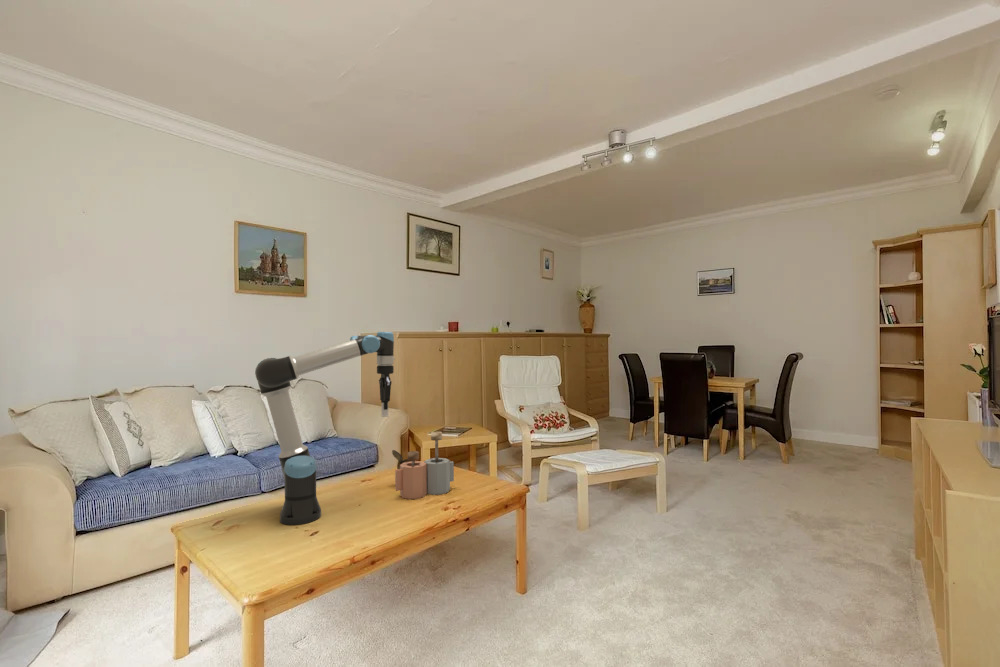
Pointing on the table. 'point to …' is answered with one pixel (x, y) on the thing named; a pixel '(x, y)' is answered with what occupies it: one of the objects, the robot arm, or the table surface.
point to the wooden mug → (399, 458)
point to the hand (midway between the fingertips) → (384, 416)
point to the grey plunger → (436, 442)
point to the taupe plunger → (413, 456)
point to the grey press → (439, 475)
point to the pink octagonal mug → (411, 480)
